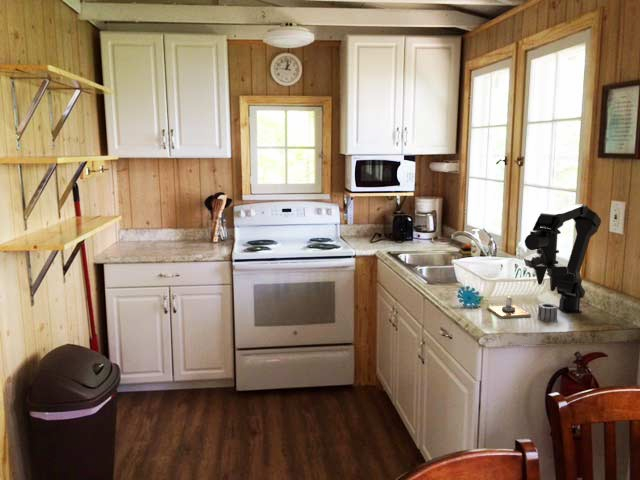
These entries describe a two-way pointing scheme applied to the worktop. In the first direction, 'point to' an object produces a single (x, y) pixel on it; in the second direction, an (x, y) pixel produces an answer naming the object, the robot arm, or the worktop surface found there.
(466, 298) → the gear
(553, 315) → the hub
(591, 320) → the worktop surface
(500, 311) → the shaft stand
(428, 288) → the worktop surface
